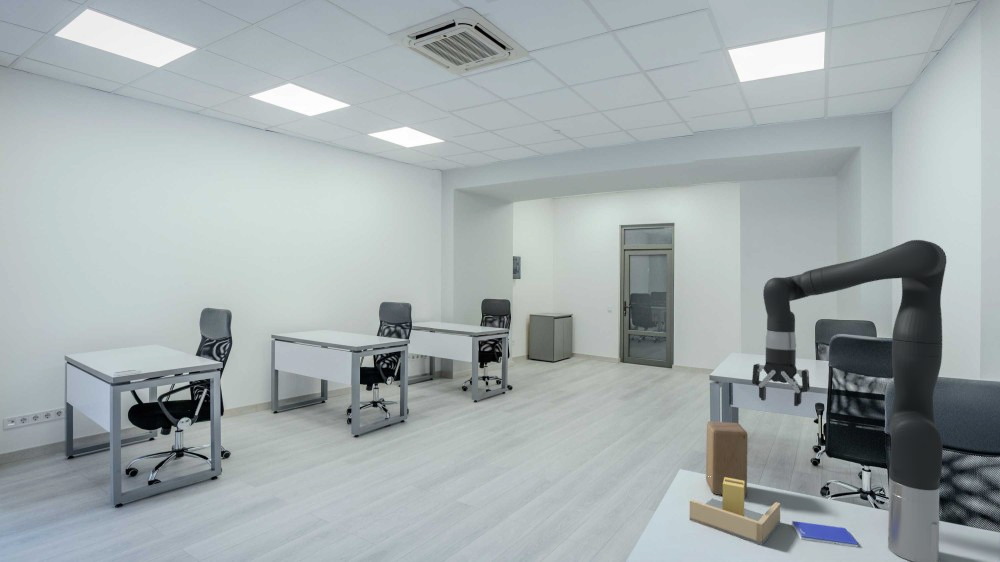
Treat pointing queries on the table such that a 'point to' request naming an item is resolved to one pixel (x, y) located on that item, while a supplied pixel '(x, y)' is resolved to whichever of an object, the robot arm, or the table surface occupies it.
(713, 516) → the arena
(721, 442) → the wooden block
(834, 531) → the hard drive
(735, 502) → the mustard block
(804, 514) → the table surface
